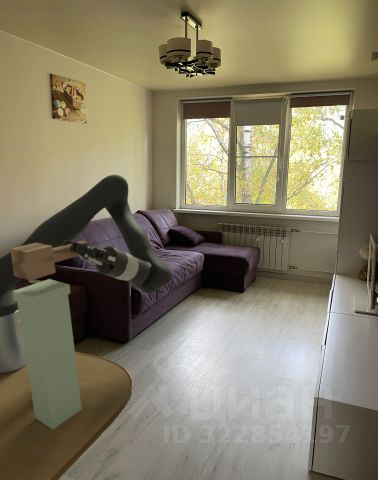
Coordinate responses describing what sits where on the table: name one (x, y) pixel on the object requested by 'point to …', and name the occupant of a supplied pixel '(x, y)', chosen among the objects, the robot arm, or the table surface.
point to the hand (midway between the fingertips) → (68, 245)
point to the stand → (49, 350)
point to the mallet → (39, 259)
